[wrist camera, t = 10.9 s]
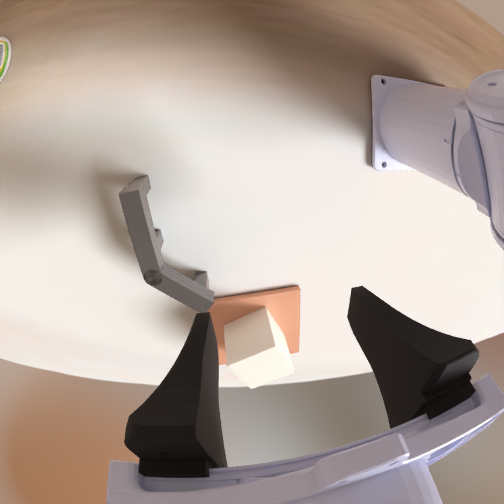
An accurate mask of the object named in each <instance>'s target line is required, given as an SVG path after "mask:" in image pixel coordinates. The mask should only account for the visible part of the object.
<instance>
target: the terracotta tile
mask: <svg viewBox="0 0 504 504" xmlns="http://www.w3.org/2000/svg"><path fill="white" fill-rule="evenodd" d="M265 306H266V308H267V309H268V311H269V312H270V314H271V315H272V317H273V318H274V320H275V321H276V323H277V324H278V326H279V327H280V329H281V330H282V332H283V333H284V336H285V339H286V342H287V346H288V349H289V353H290V354H292V353H297V352H299V332H300V288H299V286H294V287H288V288H282V289H276V290H269V291H263V292H256V293H250V294H243V295H236V296H229V297H222V298H215V299H214V304H213V305H212V306H211V307H210V308H209V309H208V310H207V312H210V315H211V319H212V323H213V327H214V331H215V335H216V338H217V345H218V355H219V365H221V364H227V362H226V350H225V338H224V325H226V324H228V323H231V322H233V321H235V320H237V319H239V318H242V317H244V316H246V315H248V314H250V313H253V312H255V311H257V310H259V309H261V308H263V307H265Z"/></svg>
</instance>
